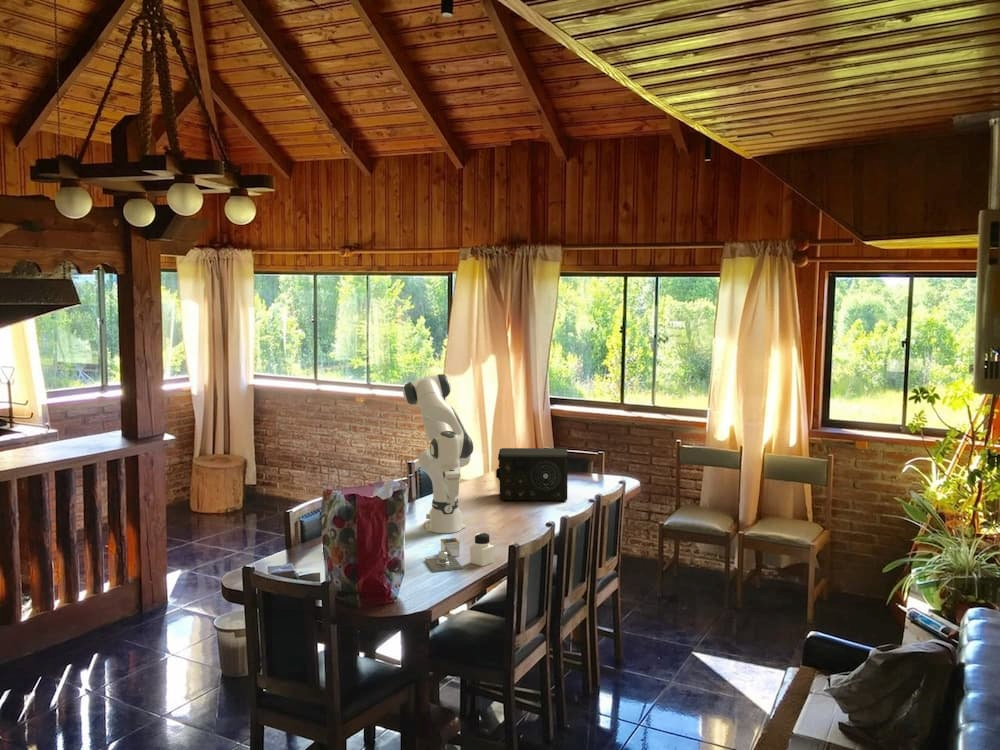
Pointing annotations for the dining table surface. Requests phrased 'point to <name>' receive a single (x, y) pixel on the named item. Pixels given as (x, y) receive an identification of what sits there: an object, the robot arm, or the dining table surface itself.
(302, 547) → the dining table surface
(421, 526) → the dining table surface
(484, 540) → the medicine bottle
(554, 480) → the vintage radio
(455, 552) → the cream brown-topped cube
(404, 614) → the dining table surface
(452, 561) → the duct base
